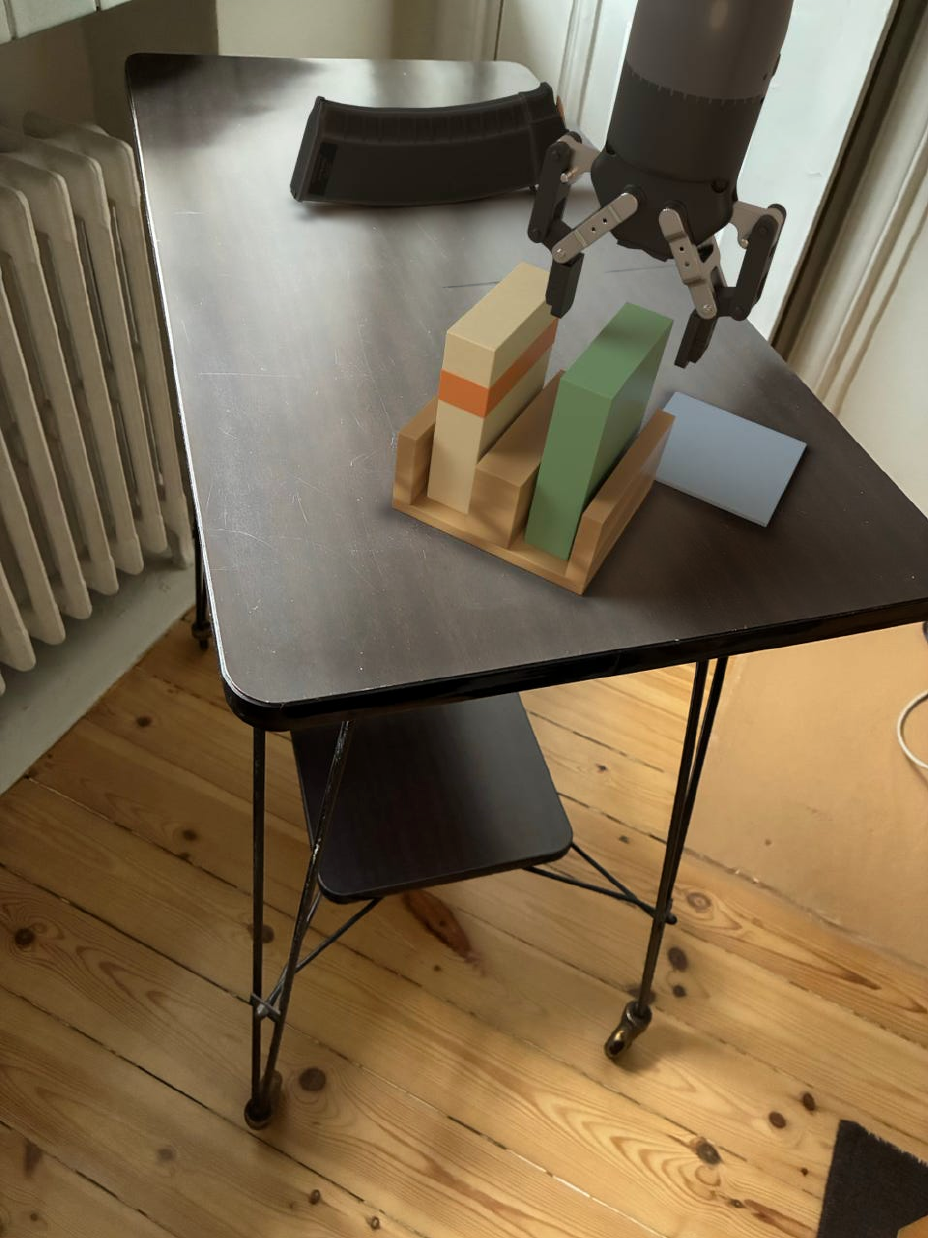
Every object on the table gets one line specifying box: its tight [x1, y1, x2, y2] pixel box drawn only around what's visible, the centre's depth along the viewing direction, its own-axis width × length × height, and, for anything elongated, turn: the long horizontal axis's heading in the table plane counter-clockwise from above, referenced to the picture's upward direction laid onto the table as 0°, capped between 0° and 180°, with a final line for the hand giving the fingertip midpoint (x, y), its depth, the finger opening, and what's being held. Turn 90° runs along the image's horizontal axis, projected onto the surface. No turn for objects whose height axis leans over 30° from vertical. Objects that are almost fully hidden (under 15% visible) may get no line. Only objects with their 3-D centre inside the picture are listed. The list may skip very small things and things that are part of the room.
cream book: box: [427, 261, 560, 515], centre depth 70 cm, size 4×11×14 cm, turn 152°
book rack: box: [391, 368, 676, 596], centre depth 73 cm, size 16×14×7 cm
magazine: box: [289, 81, 571, 207], centre depth 101 cm, size 17×3×30 cm
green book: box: [523, 301, 675, 561], centre depth 68 cm, size 4×11×14 cm, turn 152°
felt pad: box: [654, 391, 808, 528], centre depth 81 cm, size 12×12×1 cm
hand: (621, 336), depth 62 cm, fingers open, 8 cm apart
